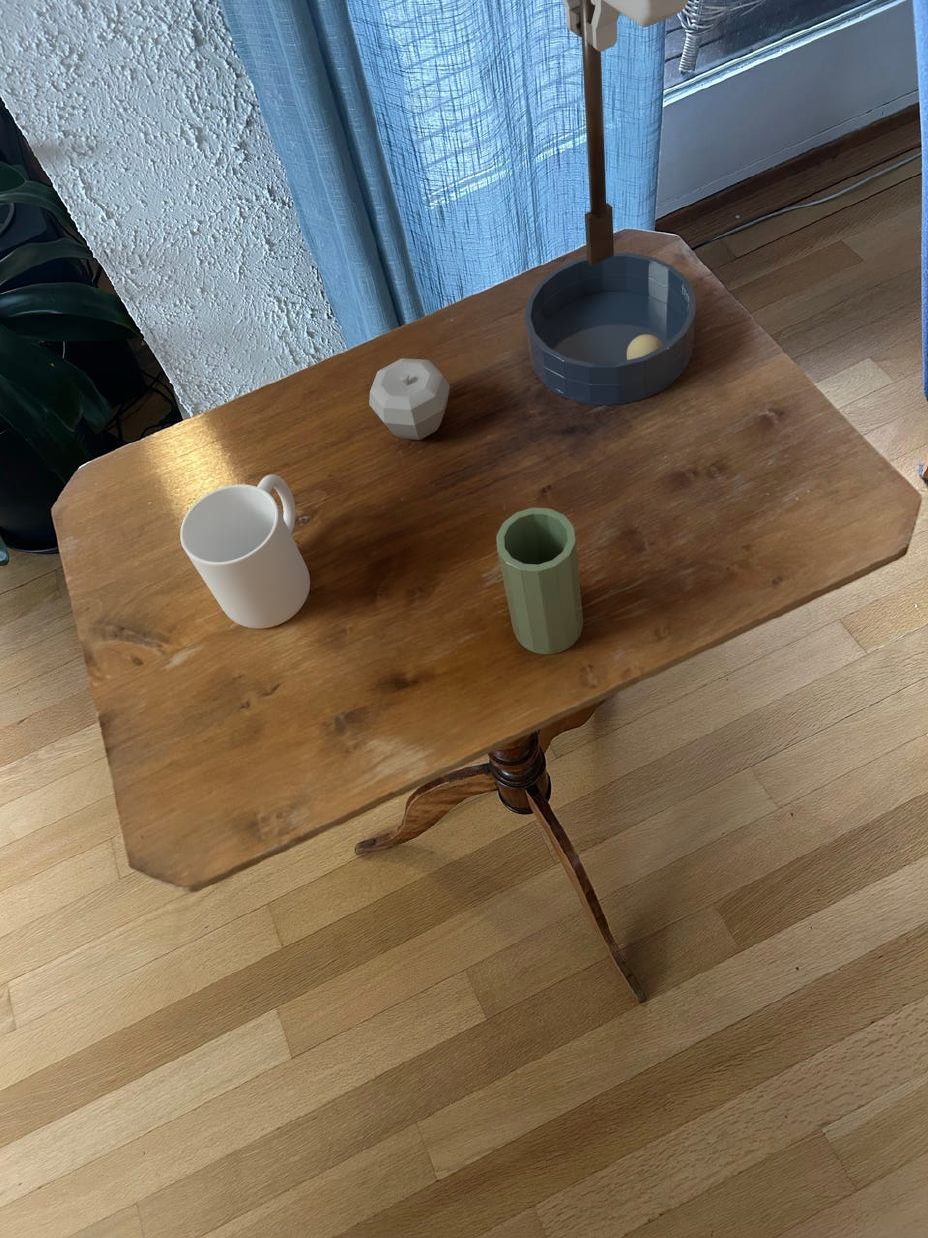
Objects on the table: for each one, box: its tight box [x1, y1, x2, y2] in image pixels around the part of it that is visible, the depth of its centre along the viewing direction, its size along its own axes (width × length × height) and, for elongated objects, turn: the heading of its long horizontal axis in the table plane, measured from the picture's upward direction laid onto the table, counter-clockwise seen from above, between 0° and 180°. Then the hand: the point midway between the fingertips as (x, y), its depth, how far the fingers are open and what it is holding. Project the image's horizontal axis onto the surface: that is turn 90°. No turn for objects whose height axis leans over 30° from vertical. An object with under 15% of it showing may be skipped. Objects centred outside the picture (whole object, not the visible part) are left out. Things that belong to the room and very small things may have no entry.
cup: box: [179, 473, 311, 630], centre depth 86 cm, size 8×12×10 cm
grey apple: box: [368, 357, 451, 441], centre depth 95 cm, size 8×8×7 cm
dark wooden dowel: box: [580, 0, 615, 266], centre depth 80 cm, size 2×1×24 cm, turn 118°
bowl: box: [524, 251, 697, 406], centre depth 97 cm, size 16×16×5 cm
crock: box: [495, 507, 584, 655], centre depth 78 cm, size 6×6×12 cm
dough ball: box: [627, 334, 663, 360], centre depth 95 cm, size 4×4×4 cm
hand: (591, 37), depth 74 cm, fingers closed on dark wooden dowel, 1 cm apart
